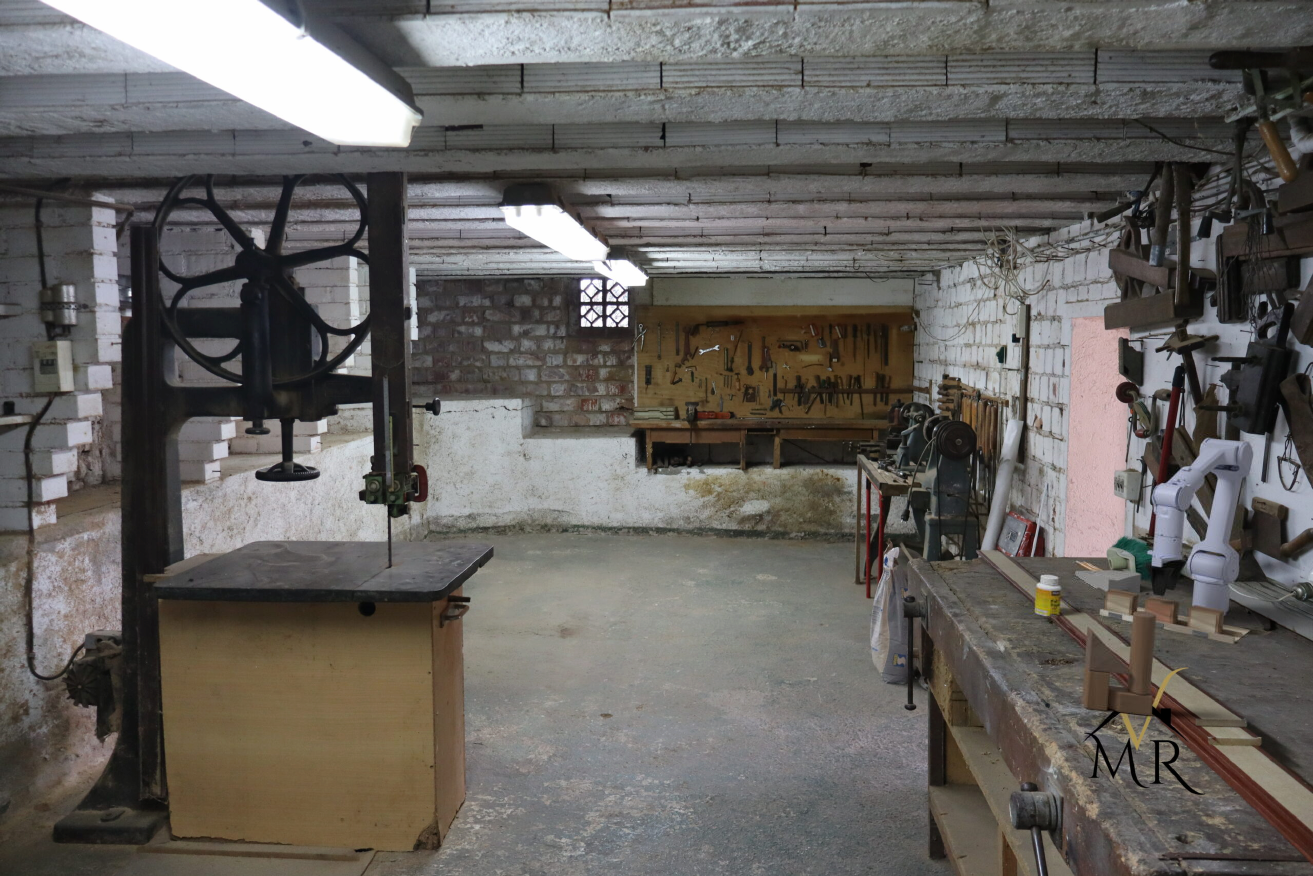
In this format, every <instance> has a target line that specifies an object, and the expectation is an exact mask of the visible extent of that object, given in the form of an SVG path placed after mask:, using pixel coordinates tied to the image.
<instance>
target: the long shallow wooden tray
mask: <svg viewBox="0 0 1313 876" xmlns="http://www.w3.org/2000/svg"><path fill="white" fill-rule="evenodd" d="M1137 611H1145V607H1140V606H1137ZM1099 615H1100V616H1103V617H1109V618H1114V619H1117V620H1122V621H1127V622H1132V623H1133V616H1132V615H1128V614H1123V613H1118V612H1114V611H1109V610H1105V608H1101V609H1099ZM1155 628H1160V629H1164V630H1167V631H1173V632H1177V633H1183V634H1187V635H1192V636H1196V637H1201V638H1204V639H1205V638H1206V639H1209V640H1214V641H1219V642H1222V643H1223V642H1224V643H1229V644H1232V645H1234V644H1235V643H1236V642H1237V641H1238V640H1240V639H1241V638H1242V637H1244V636H1245V635H1246V634H1247V633H1249V632H1250V631H1251V629H1247V628H1243V627H1237V626H1233V625H1227V624H1224V623H1223V629H1222V634H1217V633H1213V632H1208V631H1203V630H1198V629H1194V628H1189V627H1188V616H1185V615H1179V614H1178V623H1177V625H1175V624H1170V623H1165V622H1161V621H1156V626H1155Z"/></svg>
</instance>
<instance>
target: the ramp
mask: <svg viewBox="0 0 1313 876" xmlns="http://www.w3.org/2000/svg"><path fill="white" fill-rule="evenodd" d="M1075 575H1076V576H1078V577H1079V578H1080V579H1082V580H1084V581H1085V582H1086V583H1088V584H1090V585H1091V586H1093V587H1094V588H1096V589H1100V590H1103V592H1106V591H1109V590H1111V589H1115V590H1120V591H1128V592H1129V591H1130V592H1133V593H1140V591H1141V582H1142V581H1141V579H1142V574H1141V573H1139V572H1135V571H1127V570H1126V571H1123V570H1115V569H1113V570H1112V569H1109V570H1093V569H1091V570H1075V572H1074V576H1075ZM1086 583H1085V584H1086ZM1094 588H1093V589H1094Z"/></svg>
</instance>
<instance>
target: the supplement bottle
mask: <svg viewBox="0 0 1313 876" xmlns="http://www.w3.org/2000/svg"><path fill="white" fill-rule="evenodd" d="M1059 580H1060V579H1059V577H1058V576H1056V575H1052V574H1042V575H1040V582H1038V583H1037V584H1036V588H1035V589H1036V590H1035V600H1034V601H1035V602H1034V613H1035V614H1037V615H1039V616H1040V615H1041V616H1043V617H1053V618H1054V617H1058V616H1057V615H1058V614H1059V615H1060V613H1059V612H1060V609H1061V598H1062V586H1061V585H1060V584H1059Z"/></svg>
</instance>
